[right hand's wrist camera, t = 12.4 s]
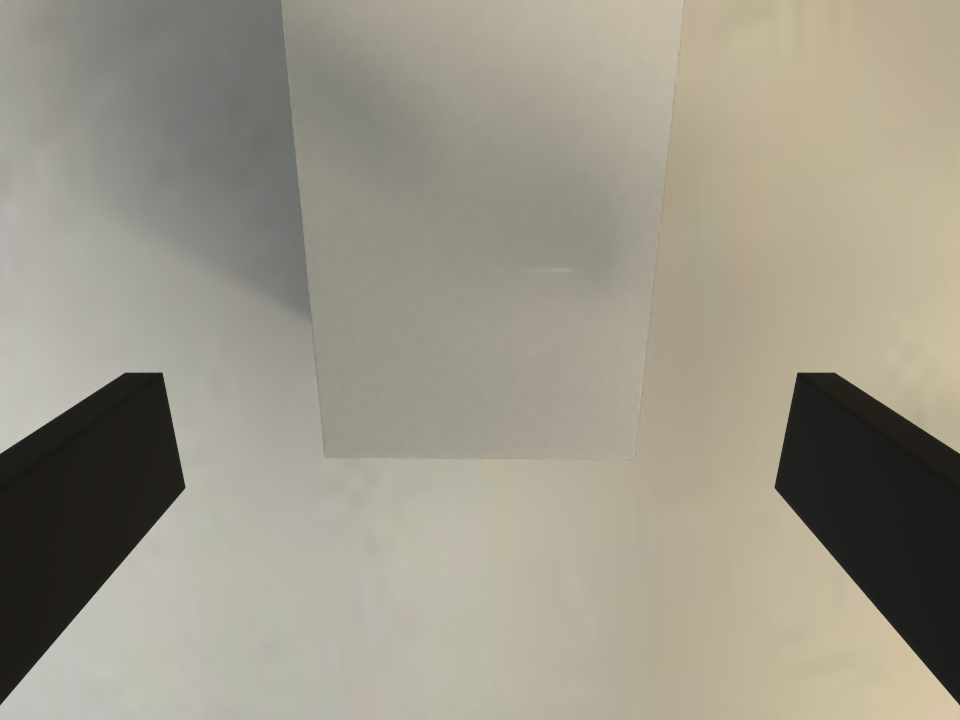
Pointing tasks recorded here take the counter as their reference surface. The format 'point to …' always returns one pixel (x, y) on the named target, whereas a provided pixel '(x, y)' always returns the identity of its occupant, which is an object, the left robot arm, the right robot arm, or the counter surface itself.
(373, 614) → the counter surface
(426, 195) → the cabinet
